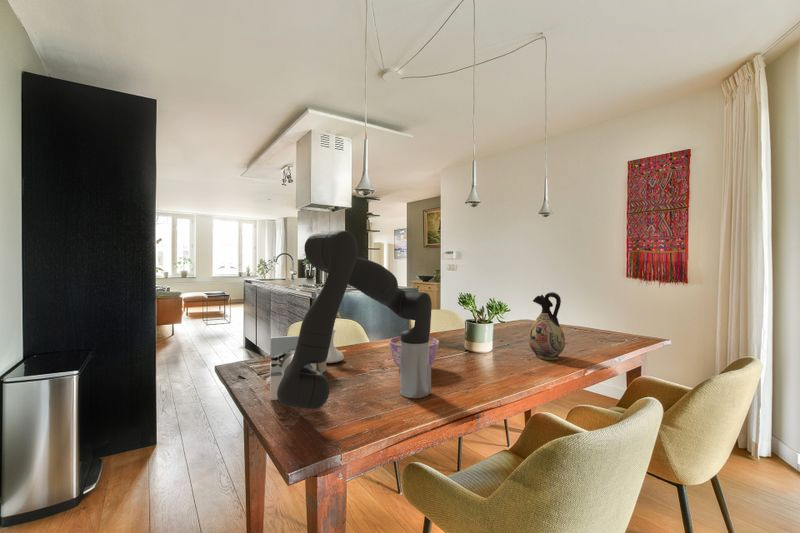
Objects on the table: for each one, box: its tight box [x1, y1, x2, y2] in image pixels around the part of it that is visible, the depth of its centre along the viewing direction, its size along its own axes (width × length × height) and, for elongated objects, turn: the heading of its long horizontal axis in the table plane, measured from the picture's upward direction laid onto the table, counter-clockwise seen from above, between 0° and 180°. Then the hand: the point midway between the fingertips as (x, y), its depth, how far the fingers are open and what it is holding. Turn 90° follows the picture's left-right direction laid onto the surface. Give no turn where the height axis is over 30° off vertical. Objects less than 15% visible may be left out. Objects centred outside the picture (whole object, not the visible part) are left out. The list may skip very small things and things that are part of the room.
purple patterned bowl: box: [388, 335, 440, 368], centre depth 143 cm, size 20×20×12 cm
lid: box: [270, 335, 299, 372], centre depth 111 cm, size 12×11×1 cm
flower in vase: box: [326, 311, 345, 364], centre depth 154 cm, size 13×11×25 cm
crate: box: [269, 361, 283, 401], centre depth 118 cm, size 12×11×9 cm
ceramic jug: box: [528, 291, 566, 361], centre depth 162 cm, size 17×15×30 cm
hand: (292, 352), depth 108 cm, fingers closed
